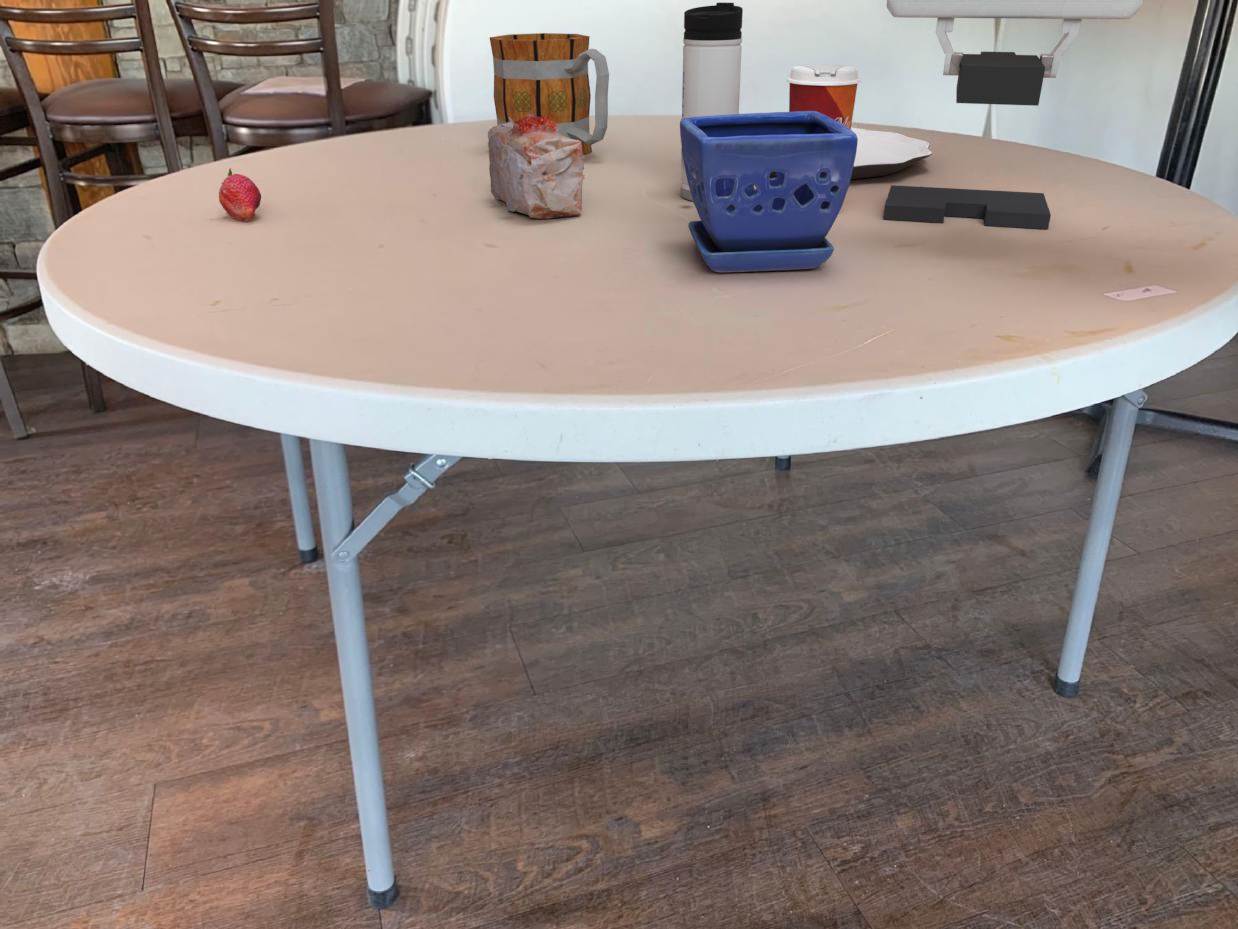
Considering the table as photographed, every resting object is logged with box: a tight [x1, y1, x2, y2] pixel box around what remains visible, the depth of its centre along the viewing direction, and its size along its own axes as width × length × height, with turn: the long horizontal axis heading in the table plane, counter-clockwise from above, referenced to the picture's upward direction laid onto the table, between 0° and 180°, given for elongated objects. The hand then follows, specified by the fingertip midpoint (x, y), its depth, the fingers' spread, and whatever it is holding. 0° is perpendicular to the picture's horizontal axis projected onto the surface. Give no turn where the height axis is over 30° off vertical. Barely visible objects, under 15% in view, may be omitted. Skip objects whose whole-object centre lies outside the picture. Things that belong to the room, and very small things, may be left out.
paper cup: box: [786, 64, 862, 129], centre depth 104 cm, size 8×8×14 cm
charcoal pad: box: [882, 184, 1052, 230], centre depth 102 cm, size 16×10×2 cm, turn 72°
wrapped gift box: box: [487, 113, 586, 220], centre depth 104 cm, size 14×8×10 cm, turn 28°
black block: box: [955, 51, 1045, 107], centre depth 85 cm, size 6×13×3 cm, turn 163°
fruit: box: [218, 167, 262, 222], centre depth 103 cm, size 4×6×5 cm
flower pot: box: [679, 111, 858, 273], centre depth 85 cm, size 13×13×12 cm
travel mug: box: [680, 2, 744, 202], centre depth 106 cm, size 6×7×20 cm
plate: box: [770, 127, 933, 180], centre depth 127 cm, size 29×29×2 cm
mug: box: [489, 32, 610, 156], centre depth 131 cm, size 20×14×15 cm
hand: (997, 75), depth 84 cm, fingers closed on black block, 6 cm apart
